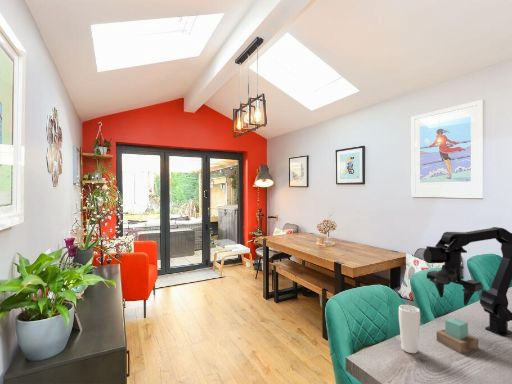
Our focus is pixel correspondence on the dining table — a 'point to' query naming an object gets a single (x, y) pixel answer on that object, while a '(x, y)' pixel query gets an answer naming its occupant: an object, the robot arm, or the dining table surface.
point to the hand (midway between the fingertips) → (453, 301)
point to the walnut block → (457, 342)
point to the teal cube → (456, 328)
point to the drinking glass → (409, 327)
